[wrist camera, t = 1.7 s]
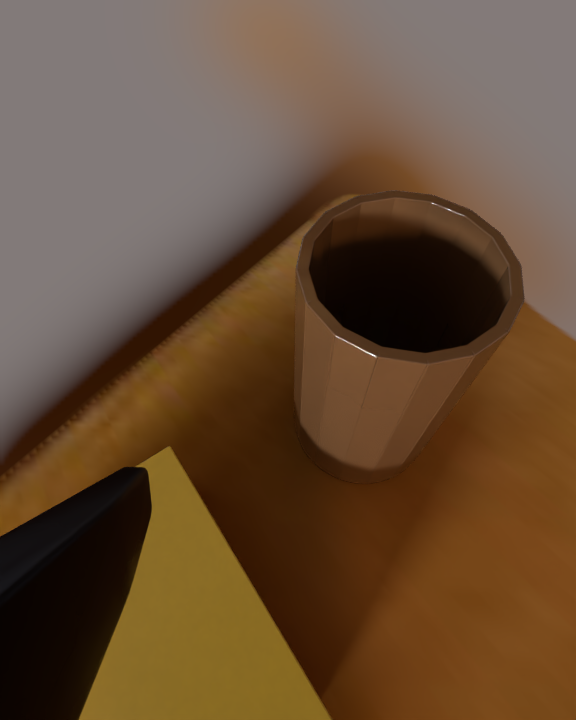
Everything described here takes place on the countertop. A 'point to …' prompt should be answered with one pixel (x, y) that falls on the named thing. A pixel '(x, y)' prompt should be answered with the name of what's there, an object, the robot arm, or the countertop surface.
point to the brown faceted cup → (394, 326)
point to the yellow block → (195, 626)
